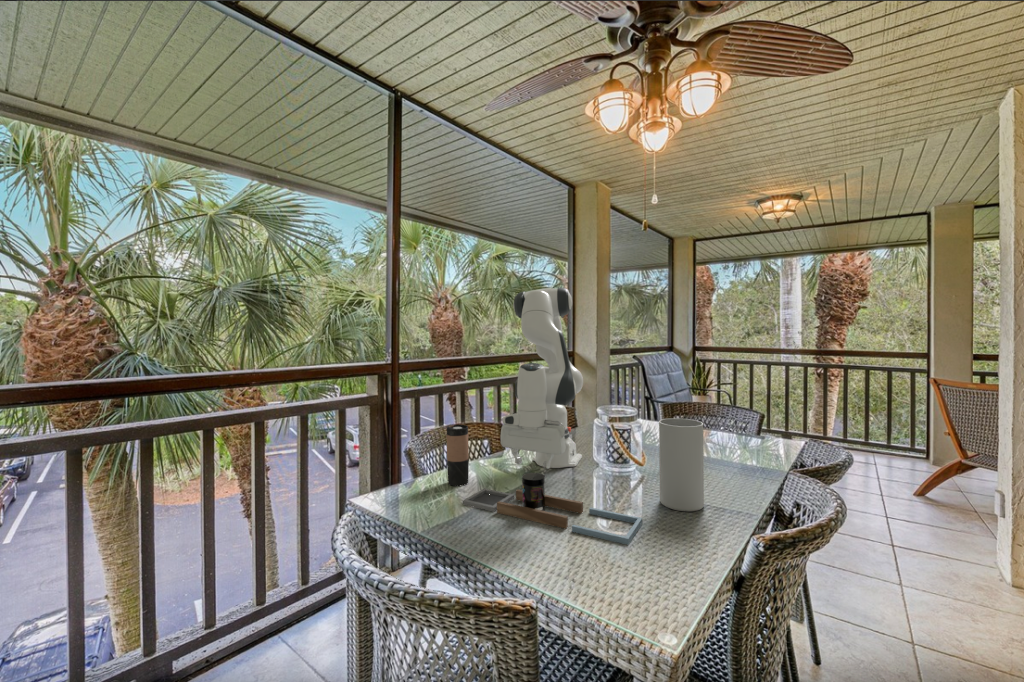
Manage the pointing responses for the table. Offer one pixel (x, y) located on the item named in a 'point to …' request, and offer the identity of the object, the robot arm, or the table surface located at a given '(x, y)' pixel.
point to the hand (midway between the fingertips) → (532, 465)
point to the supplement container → (533, 491)
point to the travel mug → (457, 455)
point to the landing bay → (611, 536)
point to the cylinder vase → (681, 464)
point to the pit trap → (487, 499)
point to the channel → (539, 514)
